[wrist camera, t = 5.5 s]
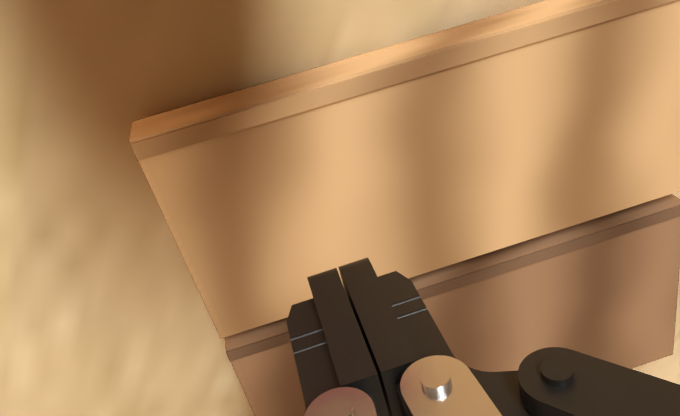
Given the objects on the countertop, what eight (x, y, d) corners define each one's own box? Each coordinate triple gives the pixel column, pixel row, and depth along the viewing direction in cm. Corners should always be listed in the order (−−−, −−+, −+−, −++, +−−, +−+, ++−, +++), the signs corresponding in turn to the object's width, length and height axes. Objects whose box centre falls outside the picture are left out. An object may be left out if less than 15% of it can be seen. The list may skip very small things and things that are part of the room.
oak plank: (680, -40, 22) (713, -31, 20) (661, 172, 27) (686, 190, 25) (132, 121, 20) (128, 142, 19) (218, 313, 25) (220, 340, 24)
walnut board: (659, 185, 27) (686, 203, 26) (652, 333, 32) (674, 355, 30) (223, 324, 26) (225, 351, 24) (281, 458, 30) (286, 487, 29)
